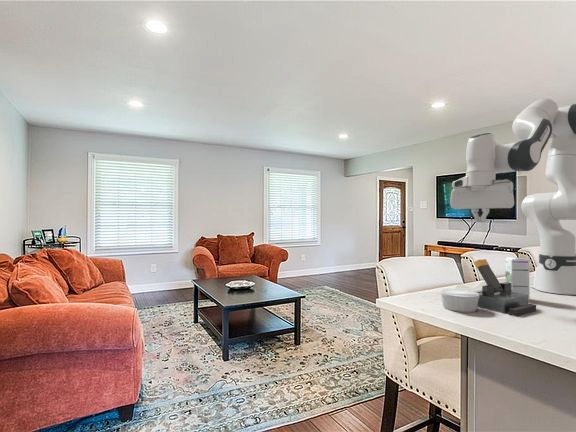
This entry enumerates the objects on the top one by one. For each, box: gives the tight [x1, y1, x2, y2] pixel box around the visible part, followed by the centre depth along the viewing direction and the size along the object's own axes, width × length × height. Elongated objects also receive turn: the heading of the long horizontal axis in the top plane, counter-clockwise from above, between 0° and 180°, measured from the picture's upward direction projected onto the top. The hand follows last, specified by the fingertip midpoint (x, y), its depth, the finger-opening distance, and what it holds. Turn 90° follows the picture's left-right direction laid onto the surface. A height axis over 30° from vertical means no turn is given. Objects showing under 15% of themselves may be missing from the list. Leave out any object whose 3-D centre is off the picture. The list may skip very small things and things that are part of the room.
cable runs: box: [508, 303, 537, 317], centre depth 115 cm, size 13×22×2 cm, turn 31°
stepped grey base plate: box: [473, 281, 529, 314], centre depth 114 cm, size 14×12×7 cm
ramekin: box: [439, 288, 480, 313], centre depth 111 cm, size 11×11×5 cm
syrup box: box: [505, 256, 531, 302], centre depth 124 cm, size 6×6×14 cm
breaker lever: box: [473, 258, 503, 293], centre depth 117 cm, size 5×2×11 cm
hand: (480, 222), depth 119 cm, fingers closed
